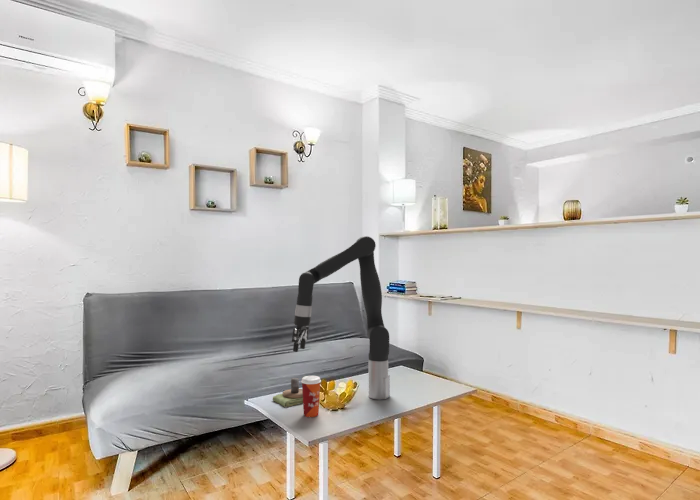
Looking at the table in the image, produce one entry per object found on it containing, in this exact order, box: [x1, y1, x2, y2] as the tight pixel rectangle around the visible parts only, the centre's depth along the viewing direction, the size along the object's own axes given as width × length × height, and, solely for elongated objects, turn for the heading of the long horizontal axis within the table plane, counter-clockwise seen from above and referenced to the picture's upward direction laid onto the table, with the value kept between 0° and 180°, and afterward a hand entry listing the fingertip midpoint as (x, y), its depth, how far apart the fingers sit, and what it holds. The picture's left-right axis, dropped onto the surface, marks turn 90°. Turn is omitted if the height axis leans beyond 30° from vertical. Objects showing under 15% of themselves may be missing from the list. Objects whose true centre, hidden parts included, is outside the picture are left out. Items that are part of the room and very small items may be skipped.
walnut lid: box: [282, 377, 303, 398], centre depth 190 cm, size 11×11×7 cm
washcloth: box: [272, 393, 303, 408], centre depth 190 cm, size 13×18×3 cm
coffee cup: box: [300, 375, 322, 418], centre depth 172 cm, size 8×8×15 cm
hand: (299, 350), depth 193 cm, fingers open, 8 cm apart
